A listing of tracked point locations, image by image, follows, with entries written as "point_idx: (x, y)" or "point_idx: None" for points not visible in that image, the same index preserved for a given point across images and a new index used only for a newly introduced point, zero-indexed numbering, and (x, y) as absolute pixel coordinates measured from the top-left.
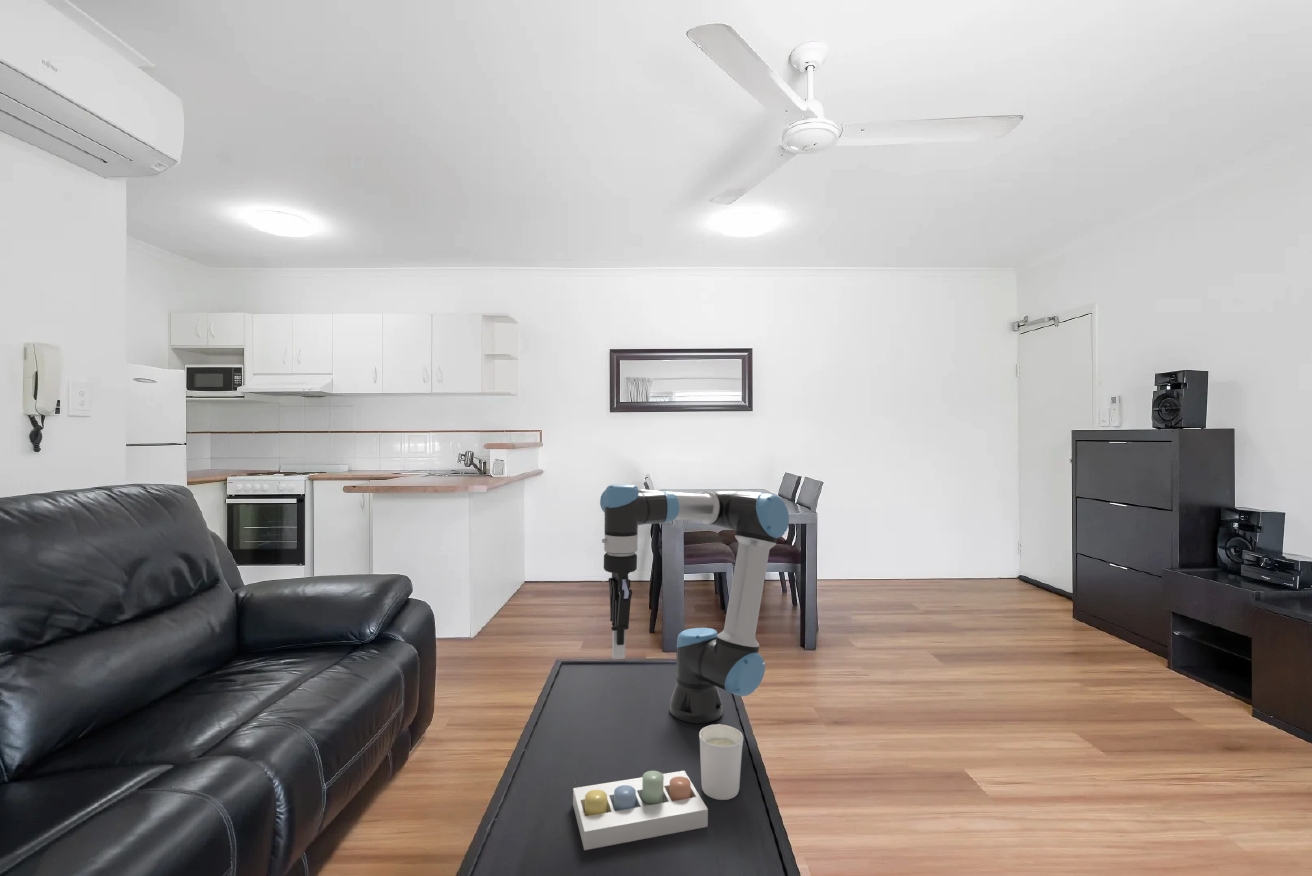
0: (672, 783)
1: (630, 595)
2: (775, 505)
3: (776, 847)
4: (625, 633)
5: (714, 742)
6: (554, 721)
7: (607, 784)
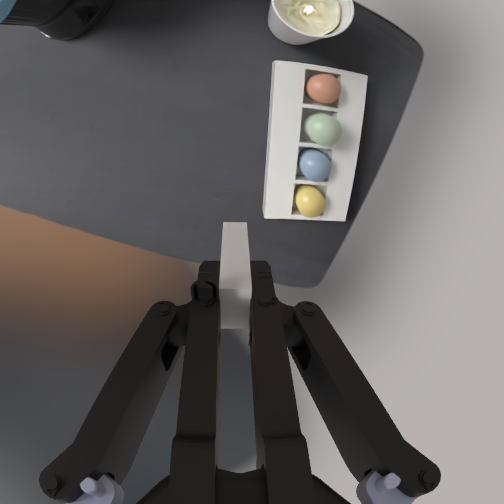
0: (324, 99)
1: (425, 462)
2: None
3: (407, 35)
4: (250, 275)
5: (281, 5)
6: (69, 209)
7: (271, 175)
